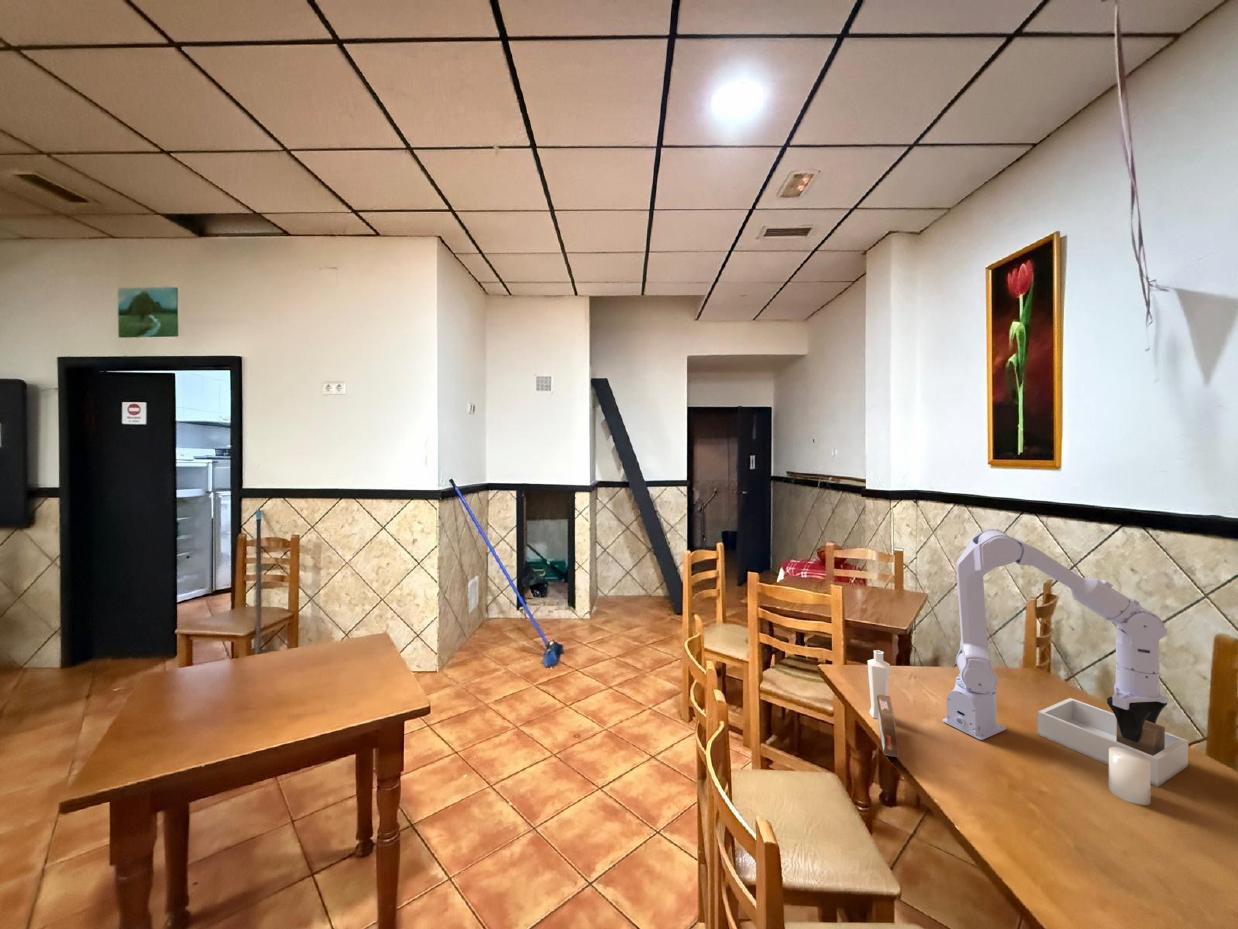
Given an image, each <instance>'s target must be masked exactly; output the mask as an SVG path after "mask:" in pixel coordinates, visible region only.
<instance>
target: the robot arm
mask: <svg viewBox="0 0 1238 929" xmlns="http://www.w3.org/2000/svg"><path fill="white" fill-rule="evenodd" d="M964 549H965V550H964V551H963V552H962V553H961V555H960V556H959V558H958V559H957V560H956V565H955V568H956V569H955V570H956V582H957V583H956V584H957V596H958V597H957V598H958V616H959V628H960V641H959V651H958V653H957V654H956V657H955V663H956V666H957V668H958V669H959V674H958V675H957V676H956V677H955V685H954V687H953V689H952V690H951V691H950V692H949V693H948V694H947V695H946V717H945V718H943V719H942V722H943V723H945V724H947V725H949V726H951V727H953V728H955V729H957V730H959V731H961V732H963V733H965V734H967V735H969V736H971V737H974V738H976V739H977V740H980V741H983V740H986V739H987V738H989V737H992V736H995V735H997V734H998V733H1001V732H1004V731H1006V730H1007V727H1005V726H1004V725H1002V724H999V723H998V722H997V686H998V683H999V682H998V681H999V680H998V676H997V674H996V672H995V671H994V669H993V668H992V662H991V661H992V660H991V656H990V651H989V647H988V646H989V645H988V644H989V643H988V632H987V630H988V629H987V615H986V601H985V598H986V597H985V587H984V586H985V585H984V584H985V583H984V576H985V575H986V574H988V573H989V572H991V571H992V570H995V569H996V568H1000V567H1004V566H1007V565H1010V564H1013V563H1016V564H1017V565H1019V566H1032V567H1035V568H1036V569H1038V570H1039V571H1041V572H1042V573H1044V574H1046V575H1047V576H1048V577H1051V578H1052V579H1054V580H1055V581H1057V582H1059V583H1060V584H1062V585H1064V587H1065V586H1066V587H1067V588H1069V589H1070V590H1071V594H1072V598H1073V599H1074V600H1076V601H1077V602H1078V603H1080V604H1081V605H1083V606H1085V608H1088V609H1089V610H1091V611H1092V612H1093V613H1096V614H1097V615H1099V616H1100V617H1102V619H1103V618H1104V619H1105V620H1107V621H1109V622H1111V623H1112V624H1113V625H1114V627H1115V626H1116V629H1115V630H1116V632H1115V633H1116V634H1115V637H1116V639H1115V682H1114V685H1113V689H1114V694H1113V695H1112V696H1109V697H1107V698H1106V704H1107V705H1108V706H1109V708H1110V709H1111V711H1112V713H1114V715H1115V717H1116V719H1117V722H1118V725H1119V728H1120V732H1121V734H1122V737H1123V738H1126V739H1128V740H1131V741H1134V742H1136V743H1137V742H1139V740H1140V737H1141V733H1142V728H1143V724H1144V722H1145V720H1147V721H1149V722H1152V723H1155V724H1157V720H1158V718H1159V716H1160V714H1161V713H1162V711H1163V710H1164V708H1165V707H1166V706H1167V705H1168V703H1169V701H1170V700H1169V697H1167V696H1165V695H1162V694H1161V683H1160V640H1161V639H1163V638H1165V636H1166V635H1167V633H1168V628H1167V627H1165V623H1164V622H1163V620H1162V619H1161V617H1160V616H1158V615H1157V614H1155V613H1154V612H1152V611H1150V610H1149V609H1147V608H1145V607H1143V606H1142V605H1141V604H1140V601H1138V600H1137V599H1135V598H1133V597H1131V598H1129V597H1128V596H1126V595H1124V594H1122V593H1121V592H1119V591H1117V590H1116V589H1114V588H1113V587H1114V586H1113V584H1112V583H1111V582H1109V581H1107V580H1105V579H1102V580H1100V579H1098V578H1095V577H1081V576H1080V575H1078V574H1077V573H1075V572H1074V571H1072V570H1071V569H1069V568H1067V567H1066V566H1065V565H1063V564H1062V563H1060V562H1059V561H1057V560H1055V559H1054V558H1052V557H1051V556H1049V555H1047V554H1046V553H1045V552H1043V551H1041V550H1040V549H1038V548H1037V547H1036V546H1033V545H1032V544H1029V543H1027V542H1025V541H1023V540H1020V539H1019V538H1017V537H1014V536H1010V535H1008V534H1007V533H1006V532H1005V531H1002V530H999V529H996V528H990V529H989V528H988V529H985V530H984V531H981V532H980V533H977V534H976V535H975V536H973V537H972V538H971V540H970V542H969V544H968V545H967V547H966V548H964Z"/></svg>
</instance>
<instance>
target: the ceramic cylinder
mask: <svg viewBox="0 0 1238 929" xmlns="http://www.w3.org/2000/svg"><path fill="white" fill-rule="evenodd" d="M1151 785H1152V784H1151V762H1150V760H1149V759H1148V758H1146V757H1145V756H1143V755H1141V754H1139V753H1137V752H1134V751H1132V750H1129V749H1125V748H1120V747H1111V748H1109V766H1108V789H1109V791H1110V792H1111V794H1113V795H1115V796H1116V797H1118V798H1120V799H1122V800H1124V801H1126V802H1129V803H1132V804H1136V805H1139V806H1149V805H1151V803H1152V802H1151V800H1152V799H1151V798H1152V797H1151V796H1152V795H1151V790H1152V789H1151V788H1152V786H1151Z"/></svg>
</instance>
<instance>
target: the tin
mask: <svg viewBox="0 0 1238 929" xmlns="http://www.w3.org/2000/svg"><path fill="white" fill-rule="evenodd" d="M877 701H878V709H879V712H878V719H877V720H878V726H879V728H878V729H879V734H880V735H879V736H880V742H881V749H882V752H883V755H884V756H888V757H891V758H893V757H894V758H897V759H899V758H900V757H899V742H898V732H897V725H896V719H895V718H896V717H895V713H894V708H893V703H892V700H891V696H890V695H888V696H885V695H877Z"/></svg>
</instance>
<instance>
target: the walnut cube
mask: <svg viewBox="0 0 1238 929" xmlns="http://www.w3.org/2000/svg"><path fill="white" fill-rule="evenodd" d="M1165 732H1166V727H1165V726H1163V725H1160V724H1157V723H1152V722H1149V721H1147V720H1145V722H1144V724H1143V728H1142V733H1141V737H1140V740H1139V742H1137V743H1136V742H1134V741H1131V740H1128V739H1126V738H1123V737H1122V734H1121V732H1120V728H1119V725H1118V722H1117V737H1116V741H1117V742H1119V743H1122V744H1124V745H1127V746H1129V747H1132V748H1134V749H1137V750H1139V751H1142V752H1144V753H1147V754H1149V755H1152V756H1154V755H1156V754H1157V753H1159V752H1160V751H1162V750H1164V749H1165Z"/></svg>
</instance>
